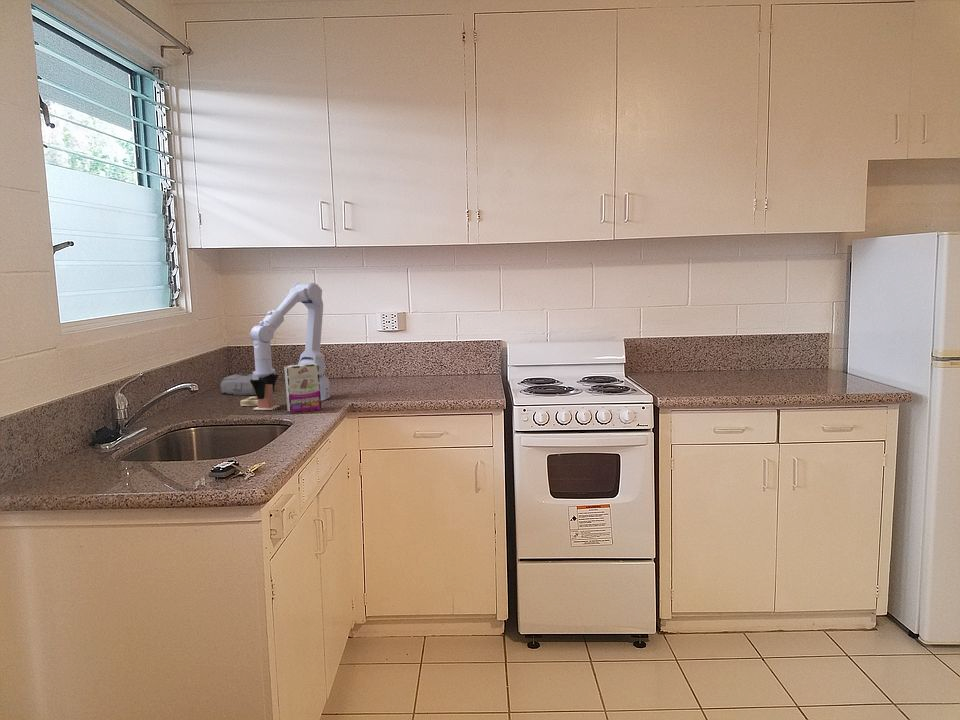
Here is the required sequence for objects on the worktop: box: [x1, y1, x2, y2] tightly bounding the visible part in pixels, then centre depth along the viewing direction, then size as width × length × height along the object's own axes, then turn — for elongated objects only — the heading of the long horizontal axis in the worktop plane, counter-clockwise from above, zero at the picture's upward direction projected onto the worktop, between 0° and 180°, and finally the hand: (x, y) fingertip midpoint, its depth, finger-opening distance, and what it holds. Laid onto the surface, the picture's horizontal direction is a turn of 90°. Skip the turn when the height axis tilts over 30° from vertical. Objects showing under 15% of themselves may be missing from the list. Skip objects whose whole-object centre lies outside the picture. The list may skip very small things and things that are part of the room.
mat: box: [252, 404, 280, 411], centre depth 258 cm, size 7×6×1 cm
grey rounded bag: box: [219, 372, 257, 396], centre depth 294 cm, size 15×8×20 cm
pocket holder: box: [239, 396, 258, 407], centre depth 267 cm, size 8×8×2 cm
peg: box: [258, 384, 275, 408], centre depth 258 cm, size 4×4×8 cm
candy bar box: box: [283, 363, 322, 414], centre depth 252 cm, size 11×5×16 cm, turn 117°
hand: (265, 396), depth 258 cm, fingers open, 7 cm apart
